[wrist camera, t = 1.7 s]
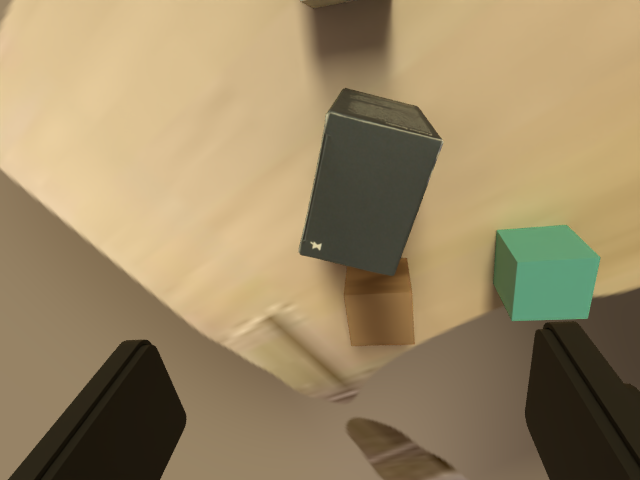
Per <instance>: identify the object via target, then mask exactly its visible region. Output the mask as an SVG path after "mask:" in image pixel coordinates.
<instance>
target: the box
mask: <svg viewBox="0 0 640 480" xmlns="http://www.w3.org/2000/svg"><path fill="white" fill-rule="evenodd" d="M442 145H443V140H442V138H441V137H440V136H439V135H438V133H437V132H436V131H435V129H434V128H433V127H432V125H431V124H430V122H429V121H428V120H427V118H426V117H425V116H424V114H423V113H422V111H421V110H420V109H419V107H417V106H414V105H409V104H405V103H402V102H398V101H393V100H390V99H386V98H382V97H378V96H374V95H370V94H366V93H362V92H358V91H355V90H350V89H347V88H345V89H343V90H342V91H341V93H340V94H339V96H338V98H337V99H336V100H335V102H334V104H333V105H332V107H331V108H330V110H329V111H328V112H327V114H326V116H325V125H324V132H323V137H322V143H321V149H320V153H319V158H318V163H317V169H316V174H315V179H314V183H313V188H312V193H311V197H310V202H309V207H308V212H307V216H306V220H305V225H304V229H303V234H302V238H301V242H300V245H299V253H300V255H303V256H308V257H313V258H317V259H321V260H326V261H330V262H334V263H338V264H342V265H345V266H350V267H354V268H358V269H362V270H366V271H370V272H375V273H379V274H384V275H389V276H394V275H395V272H396V270H397V267H398V264H399V261H400V258H401V256H402V253H403V250H404V248H405V245H406V242H407V239H408V237H409V234H410V231H411V228H412V226H413V223H414V220H415V218H416V215H417V212H418V210H419V207H420V204H421V201H422V199H423V196H424V193H425V191H426V188H427V185H428V182H429V179H430V177H431V174H432V171H433V169H434V166H435V163H436V160H437V158H438V155H439V153H440V150H441V147H442Z"/></svg>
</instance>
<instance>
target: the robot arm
mask: <svg viewBox="0 0 640 480" xmlns="http://www.w3.org/2000/svg"><path fill="white" fill-rule="evenodd" d="M525 418H526V423H527V426H528V429H529V432H530V434H531V436H532V439H533V441H534V443H535V446H536V448H537V450H538V453H539V455H540V458H541V460H542V462H543V465H544V467H545V470H546V472H547V474H548V477H549V479H550V480H640V391H639V390H638V389H637V388H636V387H634V386H632V385H631V384H625V383H623V382H622V381H621V379H620V378H619V377H618V375H617V374H616V373H615V371H614V370H613V369H612V367H611V366H610V365H609V363H608V362H607V361H606V359H605V358H604V357H603V355H602V354H601V353H600V351H599V350H598V349H597V347H596V346H595V345H594V343H593V342H592V341H591V340H590V338H589V337H588V336H587V334H586V333H585V332H584V330H583V329H582V328H581V326H579V324H578V323H576V322H574V321H572V322H549V323H545V325H544V327H543V329H541V330H537V331H536V333H535V338H534V346H533V354H532V362H531V370H530V377H529V384H528V392H527V400H526V407H525ZM185 424H186V413H185V411H184V408H183V406H182V404H181V402H180V399H179V397H178V395H177V393H176V390H175V388H174V386H173V384H172V381H171V379H170V377H169V375H168V372H167V370H166V368H165V366H164V364H163V361H162V359H161V357H160V354H159V352H158V350H157V348H156V347H155V346H154V345H152V344H151V343H150V342H149V341H148V340H126V341H124V342H122V343H121V344H120V345H119V346H118V347H117V349H116V350H115V351H114V352H113V353H112V355H111V356H110V357H109V358H108V359H107V361H106V362H105V363H104V365H102V367H101V368H100V369H99V370H98V372H97V373H96V374H95V375H94V376H93V378H92V379H91V380H90V381H89V383H88V384H87V385H86V386H85V387H84V388H83V390H82V391H81V392H80V393H79V395H78V396H77V397H76V398H75V399H74V401H73V402H72V403H71V404H70V405H69V407H68V408H67V409H66V410H65V412H64V413H63V414H62V415H61V416H60V417H59V419H58V420H57V421H56V422H55V424H54V425H53V426H52V427H51V428H50V430H49V431H48V432H47V433H46V434H45V436H44V437H43V438H42V439H41V440H40V442H39V443H38V444H37V445H36V447H35V448H34V449H33V450H32V451H31V453H30V454H29V455H28V456H27V458H26V459H25V460H24V461H23V462H22V463H21V465H20V466H19V467H18V468H17V470H16V471H15V472H14V473H13V474H12V476H11V477H10V478H9V479H8V480H160V478H161V476H162V474H163V472H164V470H165V468H166V466H167V464H168V461H169V460H170V457H171V455H172V453H173V451H174V449H175V447H176V445H177V443H178V441H179V439H180V436H181V434H182V432H183V430H184V428H185Z"/></svg>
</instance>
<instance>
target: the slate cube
mask: <svg viewBox="0 0 640 480" xmlns="http://www.w3.org/2000/svg"><path fill="white" fill-rule="evenodd" d="M350 1H355V0H300V2H302V3H304V4H306V5H308V6H310V7H312V8H318V7H324V6H329V5H334V4H340V3H345V2H350Z"/></svg>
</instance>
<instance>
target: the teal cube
mask: <svg viewBox="0 0 640 480" xmlns="http://www.w3.org/2000/svg"><path fill="white" fill-rule="evenodd" d="M600 258H601V257H599V256H598V255H597V254H596V253H595V252H594V251H593V250H592V249H591V248H590V247H589V246H588V245H587V244H586V243H585V242H584V241H583V240H582V239H581V238H580V237H579V236H578V235H577V234H576V233H574V232H573V231H572V230H571V229H570V228H569V227H568V226H567V225H559V226H546V227H532V228H519V229H506V230H497V234H496V249H495V264H494V279H493V284H494V286H495V288H496V290H497V292H498V294H499V296H500V298H501V300H502V302H503V304H504V306H505V308H506V310H507V312H508V314H509V316H510V318H511V320H512V321H528V320H555V319H556V320H557V319H587V318H588V315H589V310H590V305H591V300H592V296H593V291H594V286H595V281H596V277H597V272H598V267H599V262H600Z"/></svg>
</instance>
